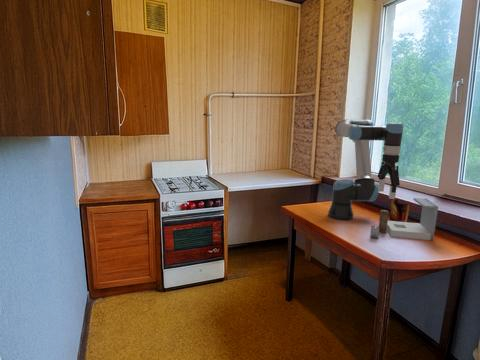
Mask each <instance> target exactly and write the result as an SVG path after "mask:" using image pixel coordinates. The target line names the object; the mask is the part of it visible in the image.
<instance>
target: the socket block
mask: <svg viewBox="0 0 480 360" xmlns="http://www.w3.org/2000/svg"><path fill="white" fill-rule="evenodd" d="M413 201H415V203H417V204H418V205H420V206H421V207H422V209H421V213H420V219H419V220H420V221H419V223H418V222H408V221H407V222H397V221H391V220H388V222H387V231H386V232H387V233H388V234H389V236H390V237H393V238H394V237H395V238H404V239H414V240H415V239H416V240H424V241H425V240H427V241H434V238H435V237H434V236H435V231H436V225H437V219H438V213H439V211H438V210H439V206H438V205H436V204H435V203H434V202H432V201H430V200H429V199H428V198H423V197H422V198H421V197H420V198H419V197H418V198H417V197H413Z"/></svg>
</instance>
